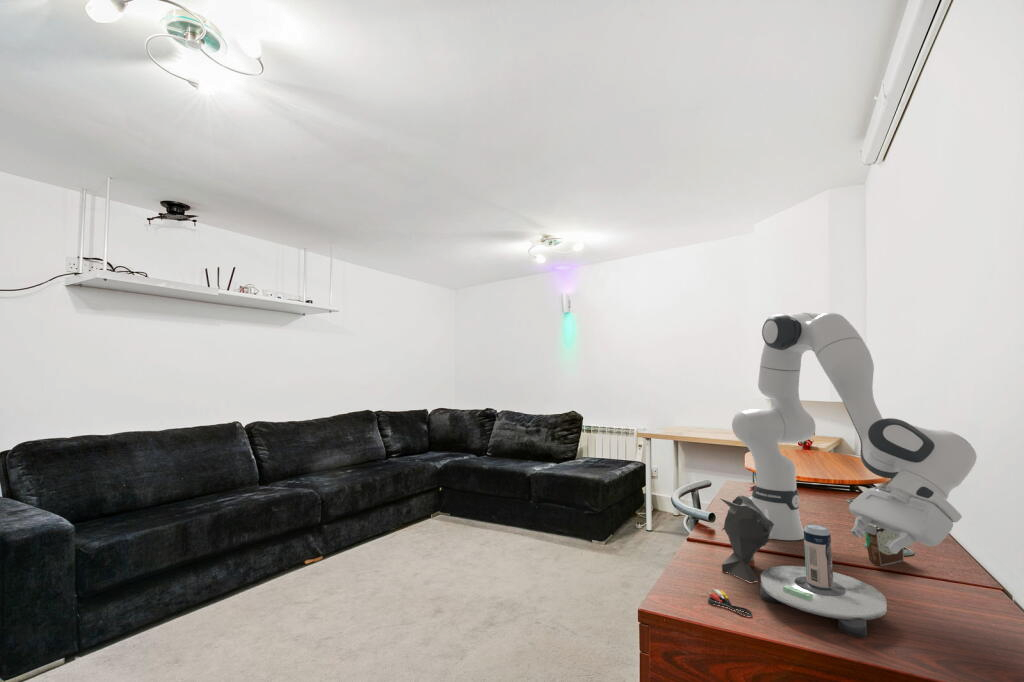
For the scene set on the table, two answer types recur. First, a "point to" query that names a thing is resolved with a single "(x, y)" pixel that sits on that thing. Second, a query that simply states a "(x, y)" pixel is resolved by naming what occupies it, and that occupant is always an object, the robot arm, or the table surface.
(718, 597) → the composite cable
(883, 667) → the table surface
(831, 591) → the round grey plate
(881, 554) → the food container
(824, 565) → the beer can
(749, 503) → the dark grey angular piece
